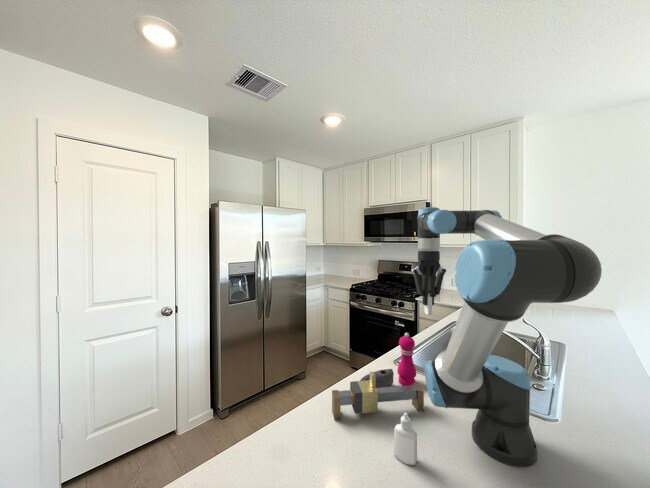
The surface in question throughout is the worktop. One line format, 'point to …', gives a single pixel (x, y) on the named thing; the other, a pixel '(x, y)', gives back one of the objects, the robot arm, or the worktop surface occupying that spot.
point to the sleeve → (369, 394)
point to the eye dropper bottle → (405, 442)
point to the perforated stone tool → (382, 378)
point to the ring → (356, 397)
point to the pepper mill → (406, 361)
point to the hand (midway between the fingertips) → (428, 313)
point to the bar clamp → (380, 397)
